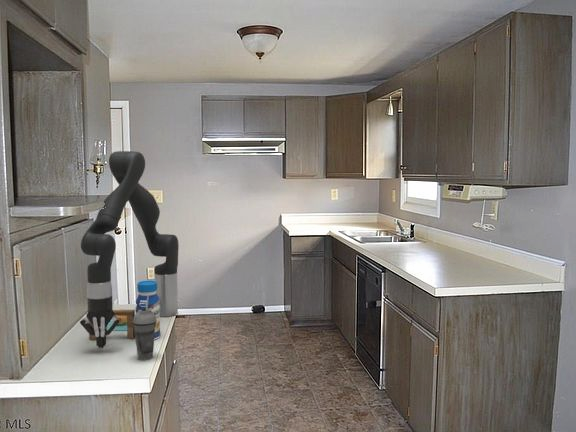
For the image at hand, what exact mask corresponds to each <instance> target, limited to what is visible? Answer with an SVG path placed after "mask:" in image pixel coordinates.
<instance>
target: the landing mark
mask: <svg viewBox="0 0 576 432" xmlns="http://www.w3.org/2000/svg"><path fill="white" fill-rule="evenodd" d="M112 321H113V320H111V321H110V322H109V324H108V325H107V330H109V328H110V327H111V326H112V325H113V323H112ZM112 332H127V322H126V323H125V324H123V325H117V326H116V327H115V328H114V330H113V331H112Z"/></svg>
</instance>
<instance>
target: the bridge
mask: <svg viewBox="0 0 576 432" xmlns="http://www.w3.org/2000/svg"><path fill="white" fill-rule="evenodd" d="M113 312H114V316H127V331H126V332H127V334H126V335H127V337H126V338H127V340H133V339H134V340H135V330H134V327H133V319H134V316H135V314H136V311H135V309H124V310H119V309H113ZM89 323H90V324H91V326H92V327H93V328H94V325H92V323H91V322H90V321H89ZM88 336H89V341H96V336H94V335H90V334H89V333H88Z"/></svg>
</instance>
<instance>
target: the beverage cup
mask: <svg viewBox="0 0 576 432" xmlns="http://www.w3.org/2000/svg"><path fill="white" fill-rule="evenodd" d="M148 299H149V295H147V302H146V309H141V310H139V311H138V312H137V313H136V312H135V316H134V319H133V327H134V330H135V337H134V339H135V344H136V354H137V359H138V361H139V360H140V361H149V360H151V359H153V358H154V351H155V350H154V349H155V340H154V335H155V327H156V322H157V320H156V316H155V314H154V313H153V312H152V311H151V310H149V309H148Z"/></svg>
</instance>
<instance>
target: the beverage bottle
mask: <svg viewBox="0 0 576 432" xmlns="http://www.w3.org/2000/svg"><path fill="white" fill-rule="evenodd" d="M136 284H137V288H136V289H137V292H138V295H137V297H136V298H135V304H136V306H135V309H134V310H135V314H136V313H137V312H138V311H139V310H141V309H146V302H147V295H149V299H148V309H149V310H151V311H152V312H153V313H154V314H155V316H156V320H157V322H156V327H155V335H154V341H156V340H158V339H159V338H160V337H161V322H160V321H161V318H160V317H161V316H160V305H159V302H160V299H159V297H158V295H157V294H156V291H157V282H156V281H154V280H141V281H138V282H137V283H136Z"/></svg>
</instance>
